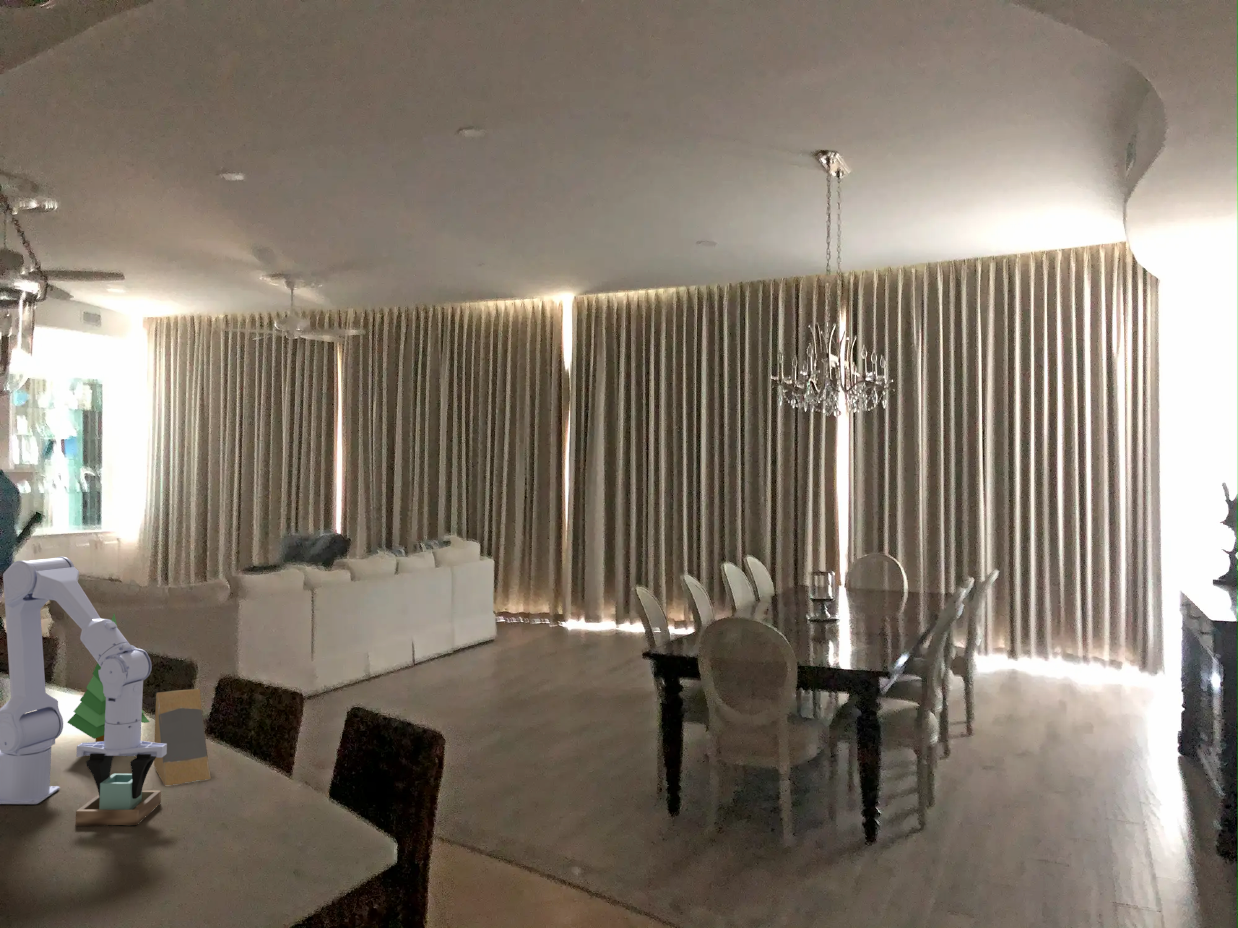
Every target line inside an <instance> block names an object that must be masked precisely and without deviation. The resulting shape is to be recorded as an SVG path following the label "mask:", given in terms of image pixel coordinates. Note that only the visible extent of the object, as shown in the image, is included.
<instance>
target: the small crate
mask: <svg viewBox="0 0 1238 928" xmlns="http://www.w3.org/2000/svg"><path fill="white" fill-rule="evenodd" d="M141 801H142V792H141V795H140V796H139V797H138V798H136V799H133V798H132V773H112V774H110V777H108V778H107V779H106V780H104V781H103V782H102V783H100V804H99V810H132V809H133V808H134V807H136V806H137V805H138V804H139V803H140V802H141Z"/></svg>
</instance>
